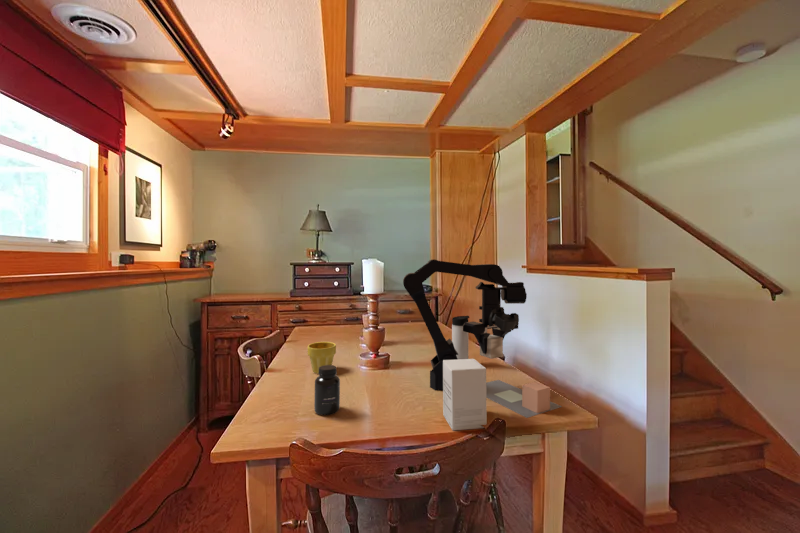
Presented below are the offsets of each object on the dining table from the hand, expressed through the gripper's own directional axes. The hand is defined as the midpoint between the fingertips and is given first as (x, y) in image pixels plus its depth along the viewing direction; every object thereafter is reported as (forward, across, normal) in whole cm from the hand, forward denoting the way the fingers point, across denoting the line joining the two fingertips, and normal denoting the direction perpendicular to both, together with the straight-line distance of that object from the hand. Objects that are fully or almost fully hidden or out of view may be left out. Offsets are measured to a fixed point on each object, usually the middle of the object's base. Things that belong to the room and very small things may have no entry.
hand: (491, 352), depth 108 cm
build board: (+12, 0, -8) cm, 15 cm away
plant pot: (+12, -42, +45) cm, 63 cm away
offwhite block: (+1, 0, 0) cm, 1 cm away
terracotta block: (+11, 0, -17) cm, 21 cm away
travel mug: (+12, +6, +23) cm, 26 cm away
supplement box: (+12, -21, -12) cm, 27 cm away
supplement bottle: (+12, -50, +11) cm, 53 cm away
